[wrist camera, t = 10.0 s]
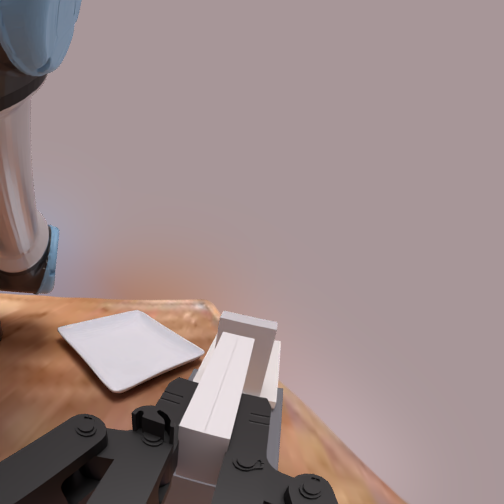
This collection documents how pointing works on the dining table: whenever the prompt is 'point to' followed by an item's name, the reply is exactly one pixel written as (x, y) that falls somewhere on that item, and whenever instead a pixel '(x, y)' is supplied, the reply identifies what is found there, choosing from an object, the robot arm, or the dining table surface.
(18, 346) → the dining table surface
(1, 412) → the dining table surface
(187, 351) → the salad plate
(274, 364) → the side cover
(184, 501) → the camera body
